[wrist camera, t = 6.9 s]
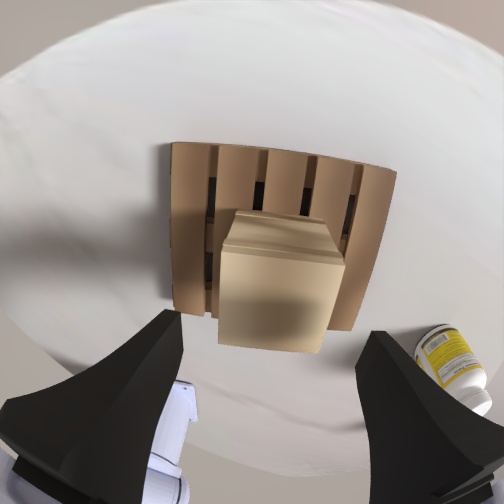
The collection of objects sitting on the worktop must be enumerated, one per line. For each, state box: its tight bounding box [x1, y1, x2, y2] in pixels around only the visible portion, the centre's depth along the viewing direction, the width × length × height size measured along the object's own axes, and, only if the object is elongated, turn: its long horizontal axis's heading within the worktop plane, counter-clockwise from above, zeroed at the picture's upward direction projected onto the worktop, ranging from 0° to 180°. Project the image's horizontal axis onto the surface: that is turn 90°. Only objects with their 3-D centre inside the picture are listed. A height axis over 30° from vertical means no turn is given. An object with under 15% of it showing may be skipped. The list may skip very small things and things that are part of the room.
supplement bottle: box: [415, 325, 492, 416], centre depth 18 cm, size 5×5×10 cm
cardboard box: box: [218, 209, 345, 354], centre depth 15 cm, size 5×5×6 cm
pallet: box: [170, 142, 397, 331], centre depth 18 cm, size 14×12×2 cm
